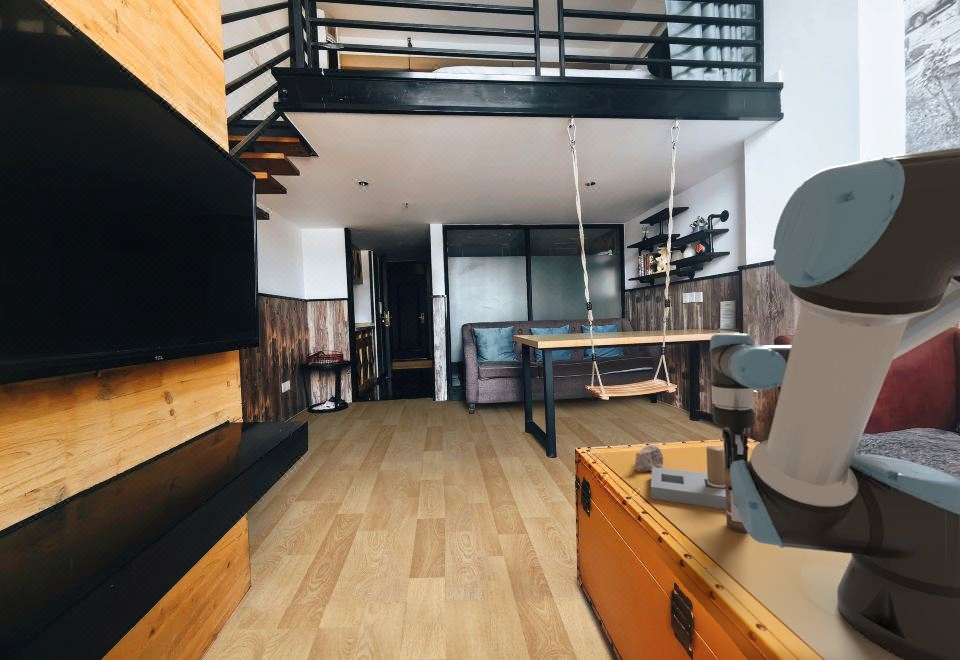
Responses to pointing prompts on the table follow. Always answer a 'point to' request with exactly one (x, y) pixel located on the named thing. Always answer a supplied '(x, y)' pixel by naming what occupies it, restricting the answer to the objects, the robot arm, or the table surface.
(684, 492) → the board
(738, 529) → the dowel
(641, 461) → the mineral specimen
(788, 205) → the robot arm
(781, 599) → the table surface
